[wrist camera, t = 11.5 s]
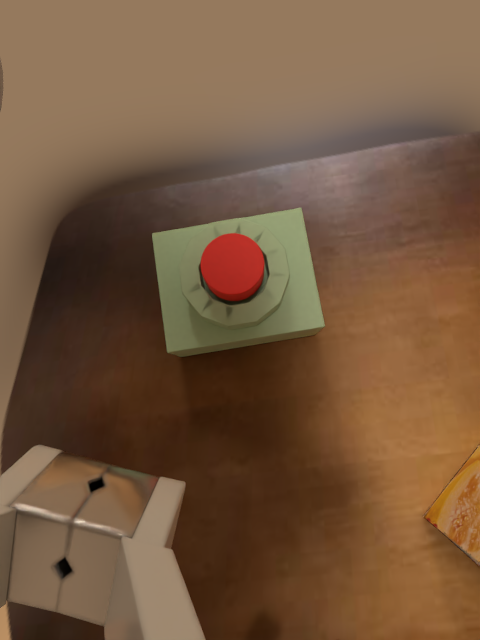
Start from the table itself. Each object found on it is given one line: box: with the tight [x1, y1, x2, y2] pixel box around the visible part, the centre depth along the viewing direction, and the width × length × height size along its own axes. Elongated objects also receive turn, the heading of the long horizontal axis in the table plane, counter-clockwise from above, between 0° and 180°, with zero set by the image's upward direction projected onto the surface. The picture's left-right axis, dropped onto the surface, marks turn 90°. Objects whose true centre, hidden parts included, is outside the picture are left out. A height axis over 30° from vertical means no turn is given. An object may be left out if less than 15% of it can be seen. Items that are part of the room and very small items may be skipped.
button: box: [200, 233, 264, 301], centre depth 22 cm, size 4×4×2 cm
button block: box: [152, 208, 325, 357], centre depth 26 cm, size 10×8×6 cm
